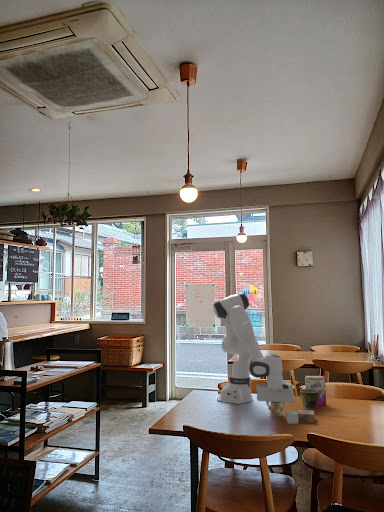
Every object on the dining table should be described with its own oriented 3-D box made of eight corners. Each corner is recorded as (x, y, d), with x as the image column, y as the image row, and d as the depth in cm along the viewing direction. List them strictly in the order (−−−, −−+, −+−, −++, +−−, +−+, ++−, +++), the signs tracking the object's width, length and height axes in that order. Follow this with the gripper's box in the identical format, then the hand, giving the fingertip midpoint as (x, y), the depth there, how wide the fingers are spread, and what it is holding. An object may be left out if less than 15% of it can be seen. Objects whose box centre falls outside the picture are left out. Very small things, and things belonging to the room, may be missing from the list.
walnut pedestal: (298, 421, 197) (297, 413, 197) (298, 417, 204) (298, 409, 205) (314, 423, 194) (314, 414, 195) (314, 418, 202) (314, 410, 202)
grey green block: (288, 423, 194) (287, 413, 195) (286, 420, 199) (285, 410, 200) (298, 423, 194) (297, 413, 195) (296, 420, 199) (295, 410, 200)
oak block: (271, 416, 207) (270, 402, 208) (271, 413, 212) (271, 400, 213) (280, 416, 206) (279, 403, 207) (281, 414, 210) (280, 401, 211)
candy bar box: (307, 405, 226) (306, 377, 228) (305, 403, 231) (304, 375, 233) (326, 406, 225) (325, 377, 227) (324, 403, 230) (323, 375, 232)
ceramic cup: (304, 405, 227) (303, 388, 228) (321, 408, 221) (320, 390, 223) (296, 410, 217) (295, 392, 218) (314, 413, 211) (313, 394, 212)
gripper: (255, 384, 211) (256, 410, 209) (293, 386, 205) (294, 413, 203) (256, 381, 217) (257, 407, 215) (294, 383, 211) (295, 409, 209)
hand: (275, 410), depth 209 cm, fingers closed on oak block, 5 cm apart
